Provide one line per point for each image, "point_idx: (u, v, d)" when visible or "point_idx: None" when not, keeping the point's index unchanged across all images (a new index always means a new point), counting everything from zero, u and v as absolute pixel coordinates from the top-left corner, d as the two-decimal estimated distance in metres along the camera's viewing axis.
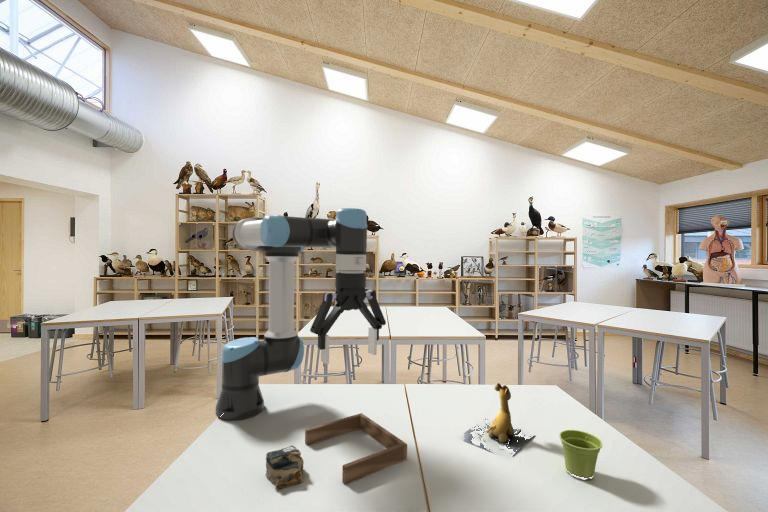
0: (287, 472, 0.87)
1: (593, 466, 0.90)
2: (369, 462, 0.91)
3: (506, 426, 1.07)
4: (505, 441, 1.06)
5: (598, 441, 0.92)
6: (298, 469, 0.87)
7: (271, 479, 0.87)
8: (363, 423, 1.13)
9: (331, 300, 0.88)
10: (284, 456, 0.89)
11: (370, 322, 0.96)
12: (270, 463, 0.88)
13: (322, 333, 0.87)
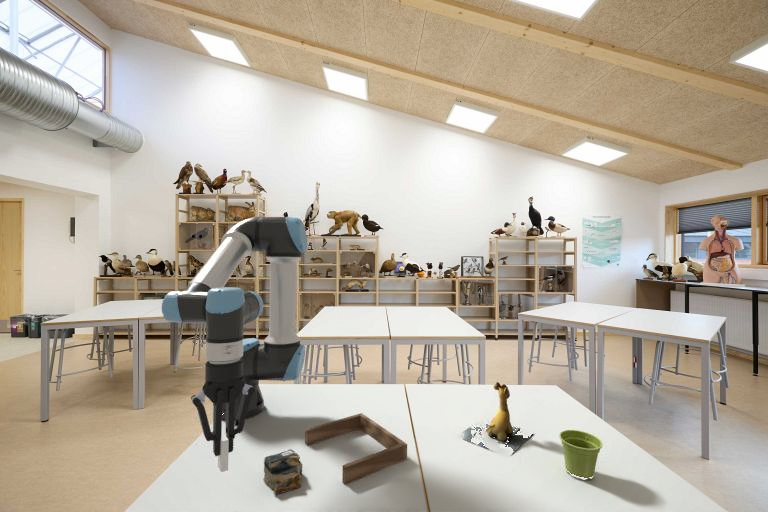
0: (286, 476, 0.85)
1: (593, 466, 0.90)
2: (369, 462, 0.91)
3: (505, 425, 1.08)
4: (504, 439, 1.07)
5: (598, 441, 0.92)
6: (297, 473, 0.85)
7: (269, 484, 0.85)
8: (363, 423, 1.13)
9: (200, 403, 0.77)
10: (282, 460, 0.87)
11: (226, 426, 0.82)
12: (268, 468, 0.86)
13: (216, 440, 0.79)
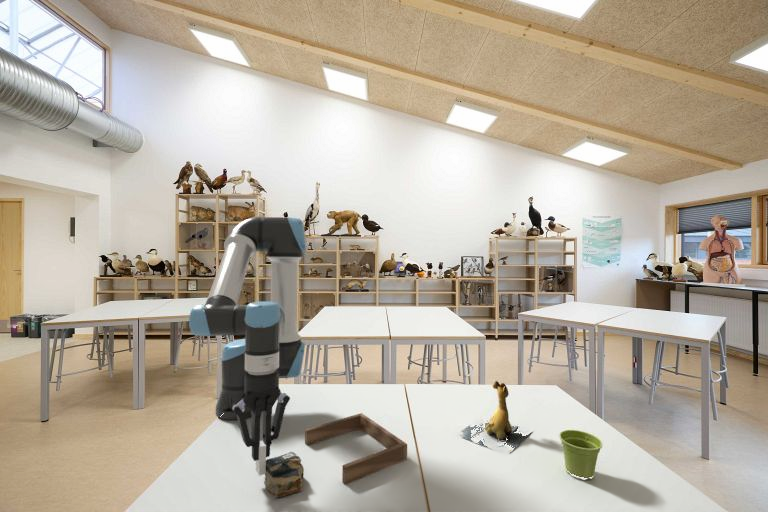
0: (287, 480, 0.83)
1: (593, 466, 0.90)
2: (369, 462, 0.91)
3: (504, 423, 1.09)
4: (503, 438, 1.08)
5: (598, 441, 0.92)
6: (298, 477, 0.84)
7: (270, 487, 0.84)
8: (363, 423, 1.13)
9: (241, 412, 0.82)
10: (283, 463, 0.86)
11: (263, 432, 0.87)
12: (269, 471, 0.84)
13: (255, 446, 0.84)
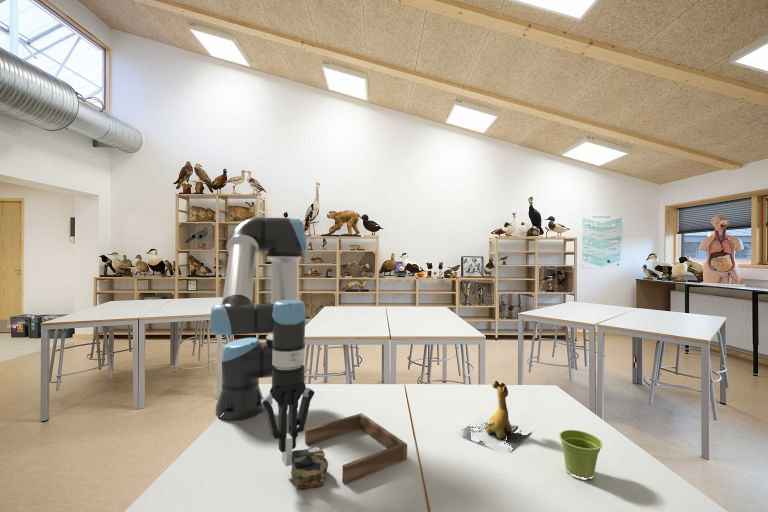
0: (309, 473, 0.86)
1: (593, 466, 0.90)
2: (369, 462, 0.91)
3: (503, 423, 1.09)
4: (503, 437, 1.08)
5: (598, 441, 0.92)
6: (319, 471, 0.86)
7: (294, 478, 0.88)
8: (363, 423, 1.13)
9: (269, 405, 0.86)
10: (307, 456, 0.89)
11: (290, 425, 0.91)
12: (294, 462, 0.88)
13: (282, 438, 0.88)
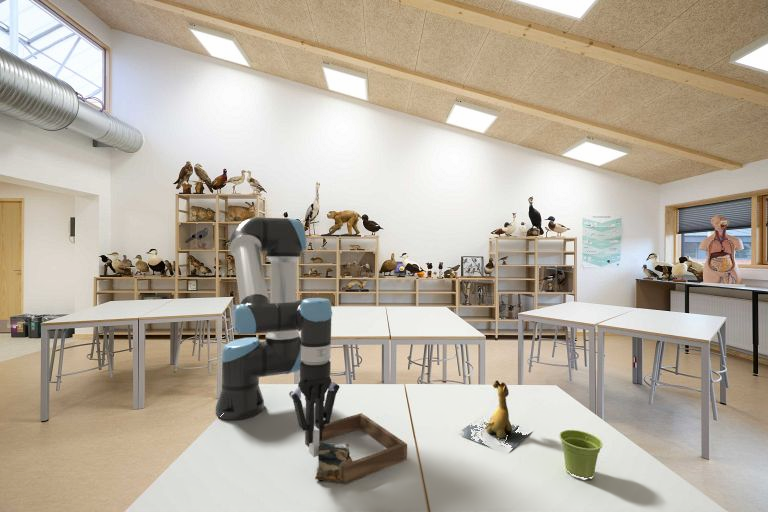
0: (329, 467, 0.89)
1: (593, 466, 0.90)
2: (369, 462, 0.91)
3: (504, 422, 1.10)
4: (503, 437, 1.09)
5: (598, 441, 0.92)
6: (337, 468, 0.88)
7: (318, 469, 0.91)
8: (363, 423, 1.13)
9: (298, 398, 0.90)
10: (331, 451, 0.92)
11: (316, 418, 0.95)
12: None
13: (310, 430, 0.92)
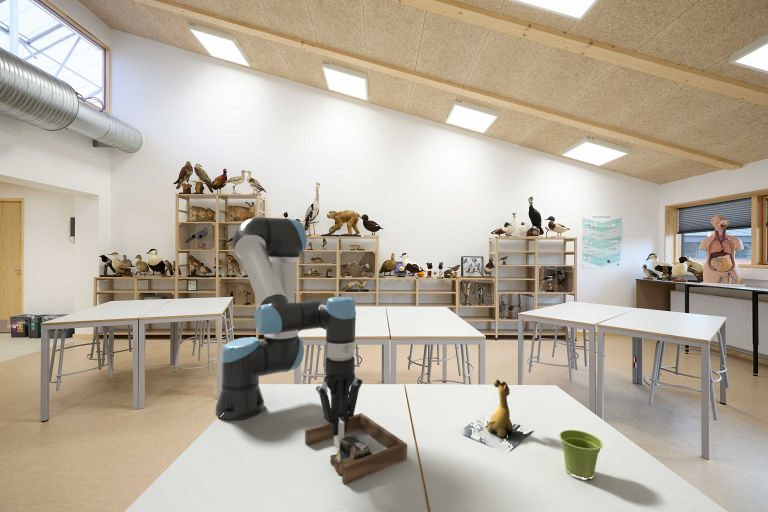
0: (338, 456, 0.93)
1: (593, 466, 0.90)
2: (369, 462, 0.91)
3: (504, 421, 1.10)
4: (504, 436, 1.09)
5: (598, 441, 0.92)
6: (339, 460, 0.91)
7: None
8: (363, 423, 1.13)
9: (325, 393, 0.94)
10: (349, 444, 0.95)
11: (341, 411, 0.99)
12: None
13: (336, 423, 0.97)
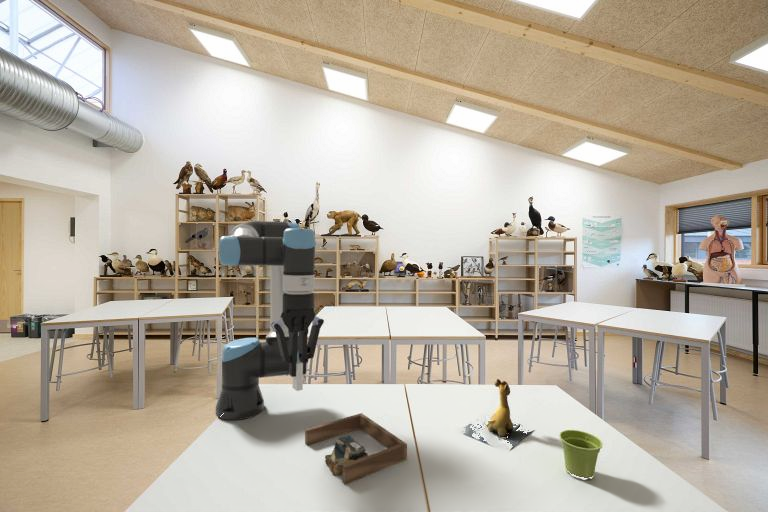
0: (333, 456, 0.93)
1: (593, 466, 0.90)
2: (369, 462, 0.91)
3: (505, 421, 1.11)
4: (504, 435, 1.10)
5: (598, 441, 0.92)
6: (334, 460, 0.91)
7: None
8: (363, 423, 1.13)
9: (281, 328, 0.87)
10: (344, 444, 0.95)
11: (300, 352, 0.92)
12: None
13: (293, 362, 0.89)
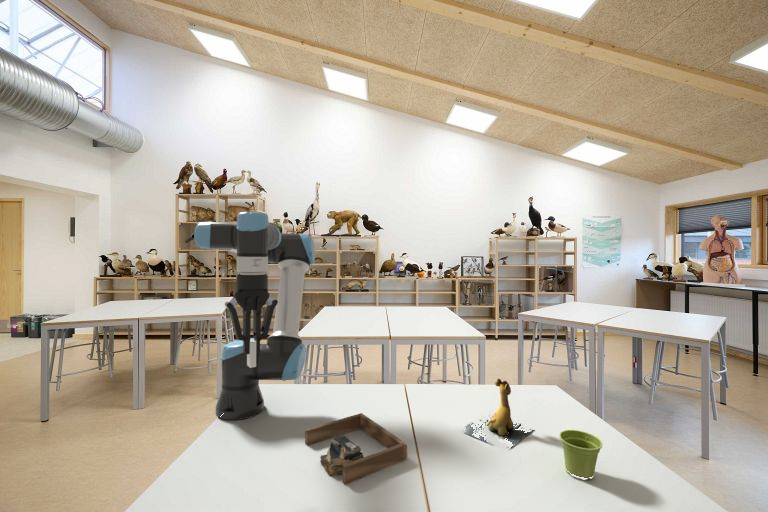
0: (328, 457, 0.93)
1: (593, 466, 0.90)
2: (369, 462, 0.91)
3: (505, 420, 1.11)
4: (504, 434, 1.10)
5: (598, 441, 0.92)
6: (329, 460, 0.91)
7: None
8: (363, 423, 1.13)
9: (233, 307, 0.91)
10: (340, 445, 0.95)
11: (254, 330, 0.96)
12: None
13: (246, 340, 0.93)
